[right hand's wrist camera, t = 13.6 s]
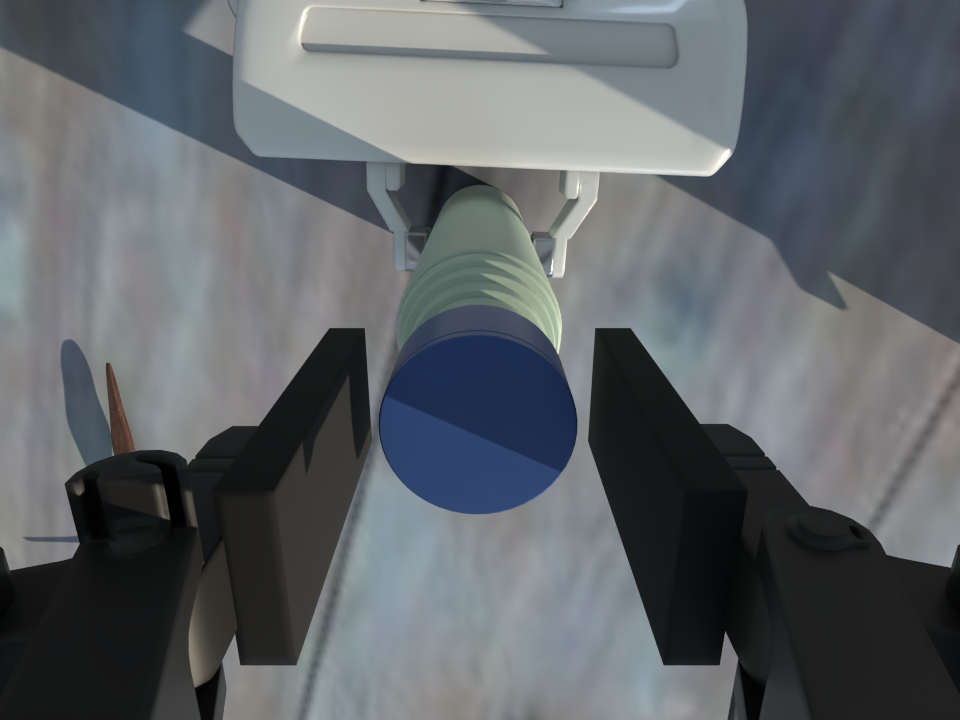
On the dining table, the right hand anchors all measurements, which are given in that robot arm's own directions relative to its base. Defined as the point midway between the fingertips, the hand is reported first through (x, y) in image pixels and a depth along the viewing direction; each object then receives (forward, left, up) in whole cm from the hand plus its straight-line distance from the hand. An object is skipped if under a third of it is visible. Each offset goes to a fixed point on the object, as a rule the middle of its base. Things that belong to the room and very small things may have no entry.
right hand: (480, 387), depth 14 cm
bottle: (0, 0, -22) cm, 22 cm away
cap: (0, 0, +2) cm, 2 cm away
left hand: (0, -1, -16) cm, 16 cm away
